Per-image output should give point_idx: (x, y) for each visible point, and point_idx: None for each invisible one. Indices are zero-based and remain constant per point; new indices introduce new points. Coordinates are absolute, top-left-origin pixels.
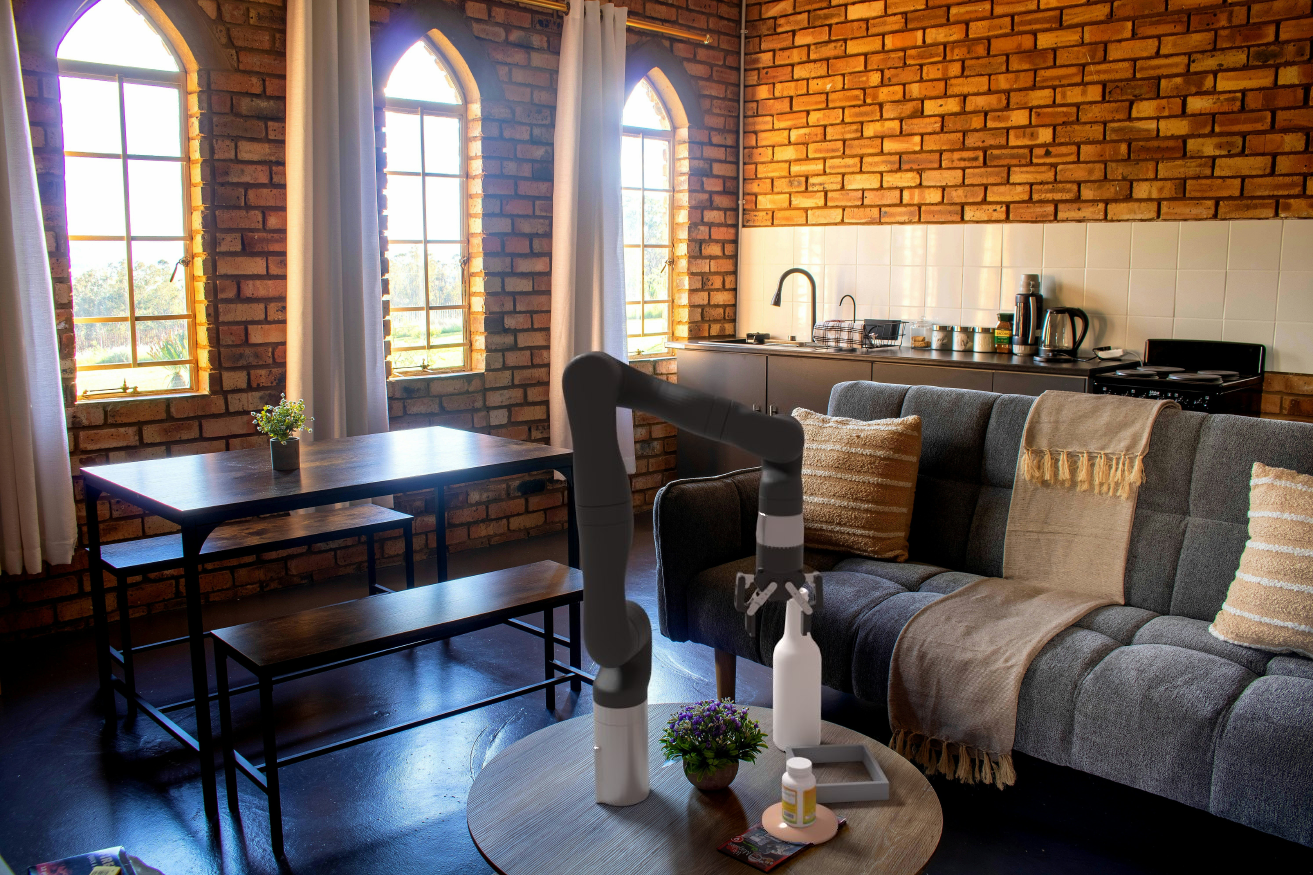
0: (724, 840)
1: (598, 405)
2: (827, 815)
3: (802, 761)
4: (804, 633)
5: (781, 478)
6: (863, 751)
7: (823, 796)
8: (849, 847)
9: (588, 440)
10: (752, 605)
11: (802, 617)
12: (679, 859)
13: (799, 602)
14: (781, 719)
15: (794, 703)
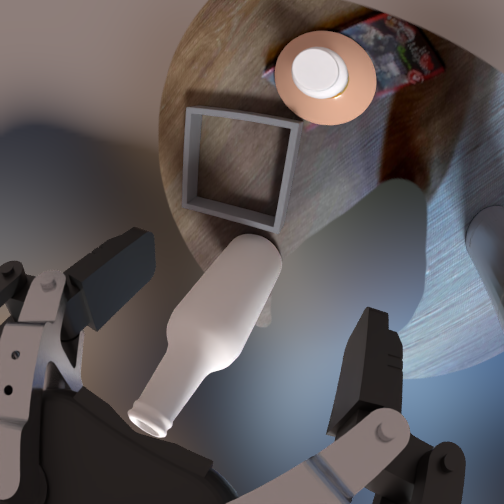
0: (431, 80)
1: None
2: (285, 76)
3: (307, 72)
4: (139, 232)
5: None
6: (190, 197)
7: (273, 116)
8: (282, 18)
9: None
10: (371, 472)
11: (101, 289)
12: (488, 72)
13: (33, 330)
14: (267, 271)
15: (242, 273)
